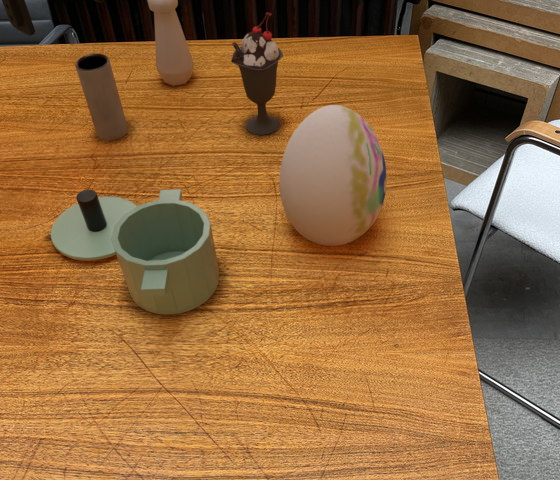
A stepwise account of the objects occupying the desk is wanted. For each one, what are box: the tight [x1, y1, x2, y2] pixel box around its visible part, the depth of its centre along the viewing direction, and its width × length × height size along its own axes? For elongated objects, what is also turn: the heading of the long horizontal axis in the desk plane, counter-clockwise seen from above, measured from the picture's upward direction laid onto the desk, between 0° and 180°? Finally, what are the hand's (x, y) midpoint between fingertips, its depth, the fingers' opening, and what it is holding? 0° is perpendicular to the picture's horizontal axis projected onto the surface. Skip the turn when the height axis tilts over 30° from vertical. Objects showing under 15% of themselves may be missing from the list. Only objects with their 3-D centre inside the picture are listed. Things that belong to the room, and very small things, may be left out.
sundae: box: [230, 12, 284, 136], centre depth 85 cm, size 7×7×15 cm
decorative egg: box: [278, 104, 388, 247], centre depth 72 cm, size 12×12×15 cm
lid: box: [50, 188, 138, 262], centre depth 77 cm, size 11×11×6 cm
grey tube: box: [74, 53, 129, 141], centre depth 88 cm, size 4×4×10 cm
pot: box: [111, 188, 220, 316], centre depth 70 cm, size 10×16×8 cm, turn 179°
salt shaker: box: [146, 0, 195, 87], centre depth 95 cm, size 6×6×13 cm
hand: (61, 15), depth 72 cm, fingers open, 9 cm apart
